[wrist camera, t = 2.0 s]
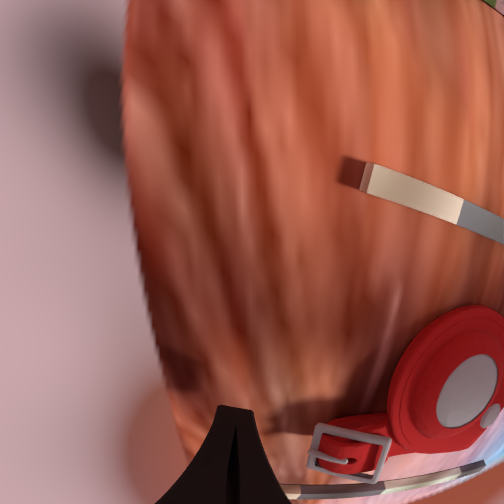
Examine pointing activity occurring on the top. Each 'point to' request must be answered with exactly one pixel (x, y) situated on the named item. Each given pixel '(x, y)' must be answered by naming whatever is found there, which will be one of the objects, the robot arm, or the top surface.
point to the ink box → (496, 5)
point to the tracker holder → (424, 399)
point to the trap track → (443, 207)
